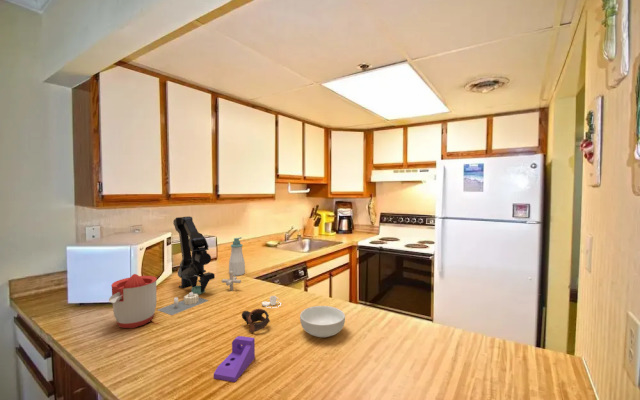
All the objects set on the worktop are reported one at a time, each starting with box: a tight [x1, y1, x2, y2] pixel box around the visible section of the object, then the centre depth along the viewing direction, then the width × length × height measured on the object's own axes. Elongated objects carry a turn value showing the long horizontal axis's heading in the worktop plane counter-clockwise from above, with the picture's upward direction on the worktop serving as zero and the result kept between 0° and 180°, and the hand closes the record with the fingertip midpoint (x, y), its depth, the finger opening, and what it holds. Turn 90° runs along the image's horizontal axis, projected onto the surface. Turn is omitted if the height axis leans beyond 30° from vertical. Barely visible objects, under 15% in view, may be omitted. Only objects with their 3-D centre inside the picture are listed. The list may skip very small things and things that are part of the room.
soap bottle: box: [228, 236, 246, 277], centre depth 186 cm, size 10×10×23 cm
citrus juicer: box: [108, 273, 158, 329], centre depth 118 cm, size 16×17×20 cm
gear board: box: [157, 291, 210, 316], centre depth 134 cm, size 11×19×6 cm, turn 150°
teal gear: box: [191, 285, 206, 295], centre depth 151 cm, size 6×6×3 cm
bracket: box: [213, 335, 256, 383], centre depth 89 cm, size 12×7×7 cm, turn 166°
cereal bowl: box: [299, 305, 346, 338], centre depth 111 cm, size 17×17×7 cm
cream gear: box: [183, 293, 200, 305], centre depth 137 cm, size 6×6×3 cm
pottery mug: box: [241, 308, 271, 334], centre depth 115 cm, size 12×10×8 cm
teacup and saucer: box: [261, 295, 282, 309], centre depth 137 cm, size 9×8×4 cm
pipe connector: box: [221, 271, 242, 292], centre depth 157 cm, size 10×10×10 cm
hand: (198, 291), depth 151 cm, fingers closed on teal gear, 6 cm apart
